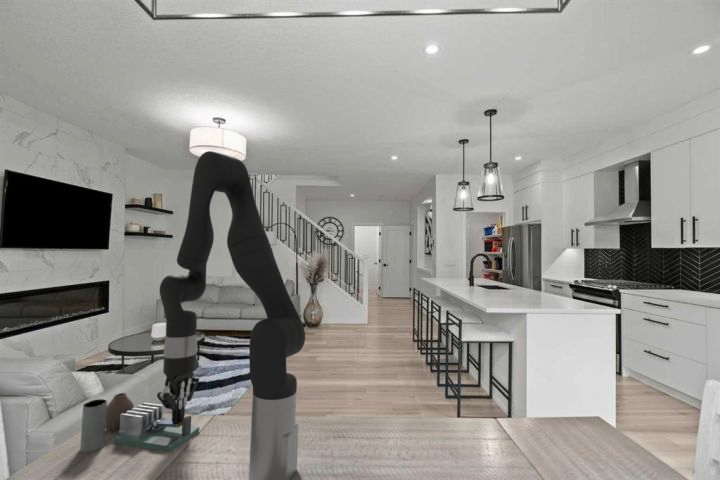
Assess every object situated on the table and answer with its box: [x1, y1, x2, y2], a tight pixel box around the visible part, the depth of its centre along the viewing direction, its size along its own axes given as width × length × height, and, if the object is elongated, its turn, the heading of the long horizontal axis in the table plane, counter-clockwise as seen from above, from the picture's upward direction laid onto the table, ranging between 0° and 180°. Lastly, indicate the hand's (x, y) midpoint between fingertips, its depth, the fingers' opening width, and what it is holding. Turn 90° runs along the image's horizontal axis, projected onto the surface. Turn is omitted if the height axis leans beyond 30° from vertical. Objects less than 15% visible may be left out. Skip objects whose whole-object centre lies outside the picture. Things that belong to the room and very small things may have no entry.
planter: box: [80, 398, 108, 453], centre depth 84 cm, size 4×4×10 cm
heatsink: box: [117, 402, 165, 439], centre depth 90 cm, size 8×8×5 cm
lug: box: [180, 415, 192, 436], centre depth 89 cm, size 2×2×4 cm
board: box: [113, 425, 201, 453], centre depth 89 cm, size 16×10×1 cm, turn 79°
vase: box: [105, 392, 135, 433], centre depth 93 cm, size 7×7×9 cm
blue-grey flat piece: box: [152, 416, 181, 428], centre depth 90 cm, size 7×3×1 cm, turn 79°
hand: (178, 422), depth 89 cm, fingers closed
